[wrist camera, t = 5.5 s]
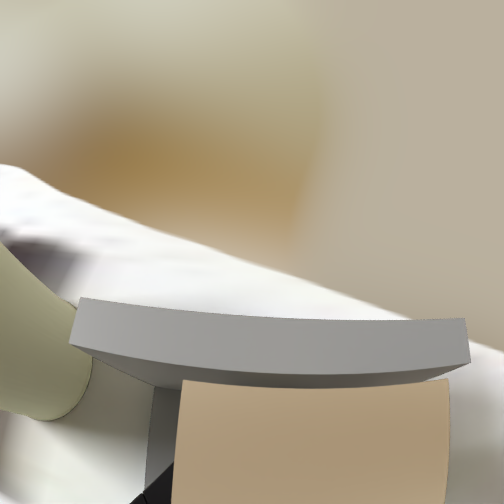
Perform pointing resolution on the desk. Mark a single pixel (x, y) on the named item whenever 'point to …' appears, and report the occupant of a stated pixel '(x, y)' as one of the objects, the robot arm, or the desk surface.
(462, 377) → the desk surface
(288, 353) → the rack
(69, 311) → the can
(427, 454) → the birch strip
